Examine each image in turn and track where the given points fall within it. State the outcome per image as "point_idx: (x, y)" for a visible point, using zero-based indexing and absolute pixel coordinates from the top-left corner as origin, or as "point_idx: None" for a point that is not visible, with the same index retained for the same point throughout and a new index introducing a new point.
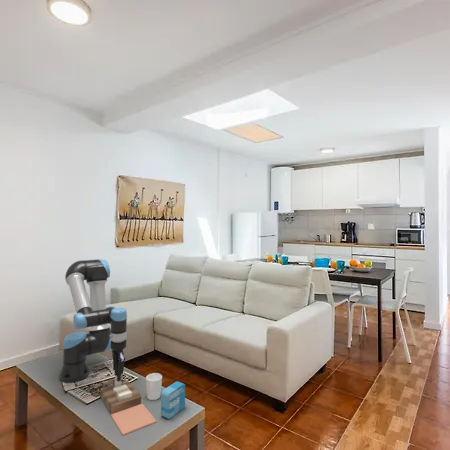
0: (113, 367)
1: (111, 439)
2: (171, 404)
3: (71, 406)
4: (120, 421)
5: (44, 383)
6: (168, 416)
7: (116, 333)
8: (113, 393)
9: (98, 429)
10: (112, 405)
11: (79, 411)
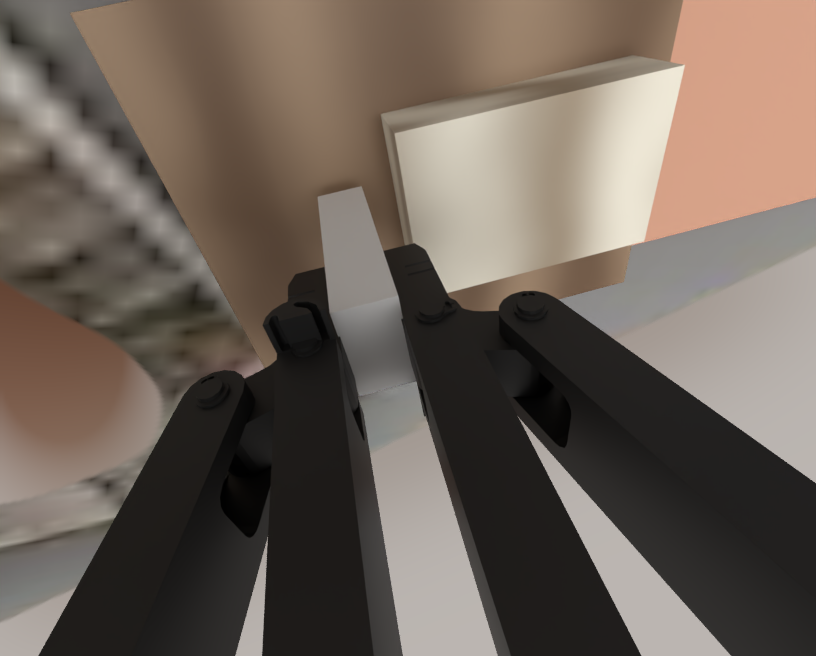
0: (236, 500)
1: (795, 252)
2: None
3: None
4: (722, 193)
5: (15, 605)
6: None
7: None
8: None
9: (660, 316)
10: (617, 276)
11: (423, 416)
